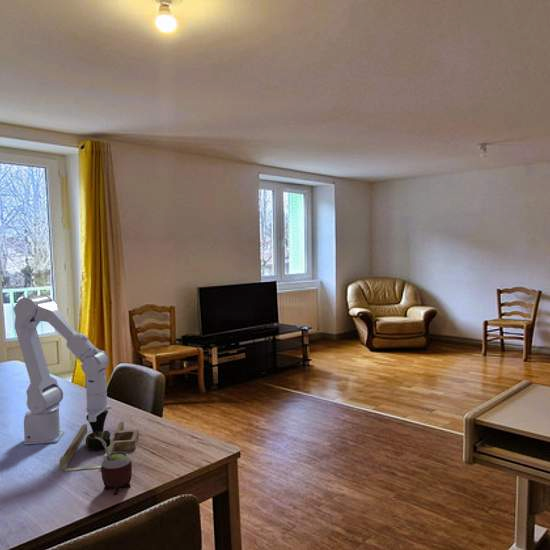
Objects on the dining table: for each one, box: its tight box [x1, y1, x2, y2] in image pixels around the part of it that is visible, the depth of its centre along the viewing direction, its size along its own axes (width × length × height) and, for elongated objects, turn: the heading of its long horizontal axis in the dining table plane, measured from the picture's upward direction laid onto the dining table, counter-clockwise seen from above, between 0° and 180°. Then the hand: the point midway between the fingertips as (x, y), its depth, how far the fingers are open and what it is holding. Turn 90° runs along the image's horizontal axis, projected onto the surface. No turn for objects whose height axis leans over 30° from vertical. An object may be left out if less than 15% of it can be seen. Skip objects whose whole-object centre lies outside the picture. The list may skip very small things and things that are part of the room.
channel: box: [59, 421, 140, 472], centre depth 136 cm, size 18×26×3 cm
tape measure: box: [85, 430, 111, 451], centre depth 137 cm, size 7×7×4 cm
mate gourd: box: [95, 437, 133, 496], centre depth 113 cm, size 8×8×15 cm
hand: (98, 436), depth 141 cm, fingers closed
